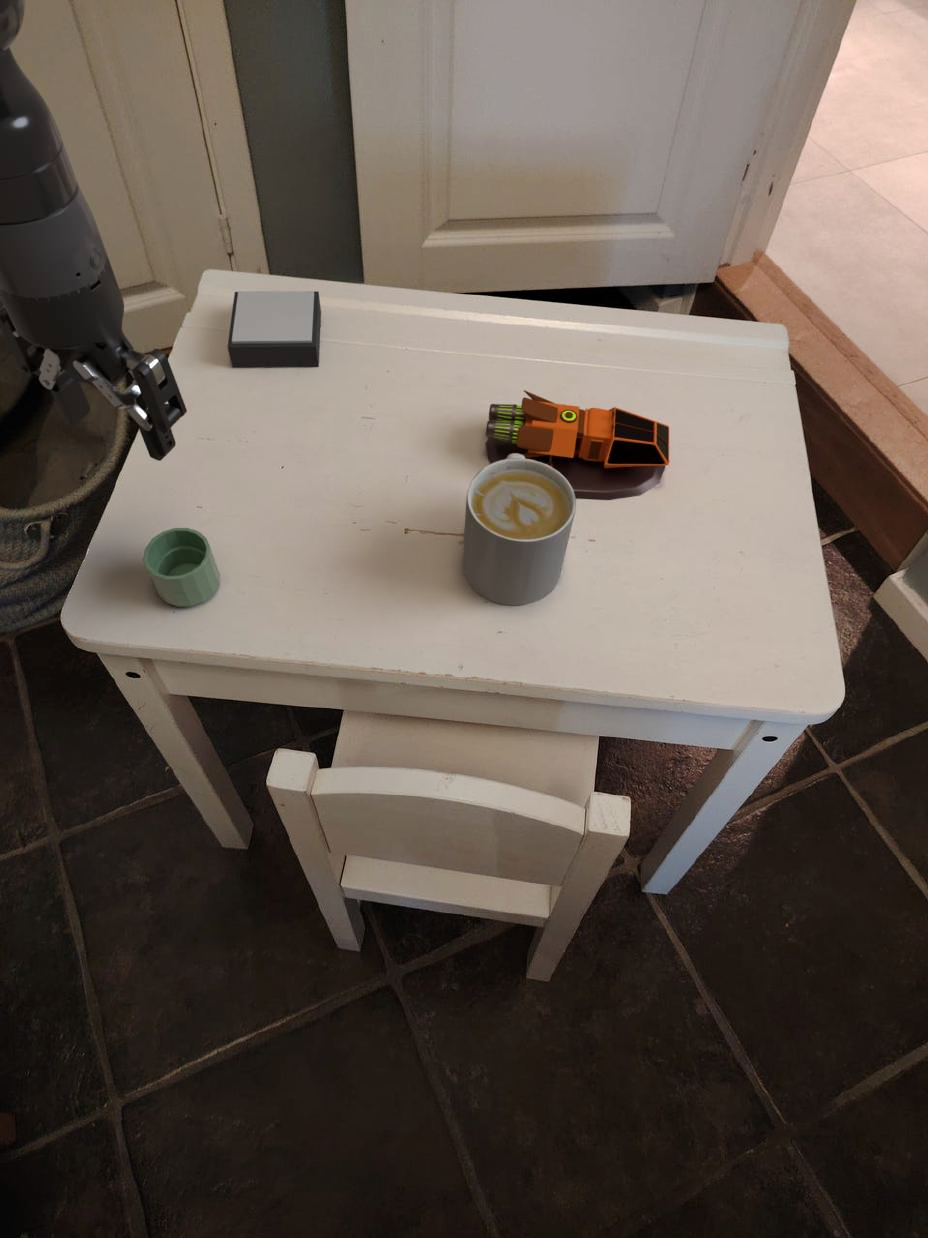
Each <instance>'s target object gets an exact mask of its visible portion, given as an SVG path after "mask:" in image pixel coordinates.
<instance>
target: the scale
mask: <svg viewBox="0 0 928 1238" xmlns="http://www.w3.org/2000/svg"><path fill="white" fill-rule="evenodd" d="M321 325H322V307H321V300H320V291H317V290H315V291H314V290H286V291H285V290H276V291H275V290H261V291H260V290H258V291H257V290H252V291H251V290H247V291H241V290H239V291H234V295H233V303H232V311H231V319H230V325H229V332H228V340H227V351H228V356H229V359H230V363H231V367H232V368H235V369H236V368H239V369H240V368H318V367H320V346H321Z"/></svg>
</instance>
